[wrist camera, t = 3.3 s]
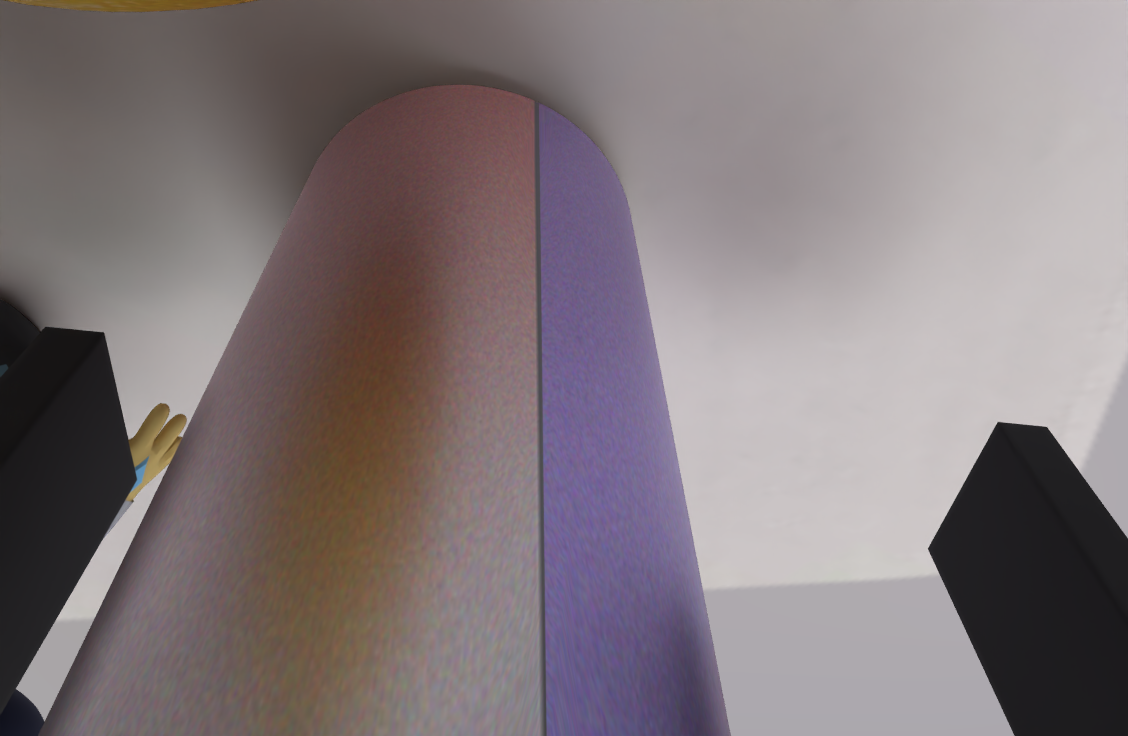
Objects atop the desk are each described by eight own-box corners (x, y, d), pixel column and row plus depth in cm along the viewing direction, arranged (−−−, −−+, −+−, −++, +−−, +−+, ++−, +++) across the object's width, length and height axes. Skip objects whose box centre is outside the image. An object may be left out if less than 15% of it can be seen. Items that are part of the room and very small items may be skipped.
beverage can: (688, 158, 15) (1229, 1718, 3) (546, 391, 18) (566, 1615, 7) (369, 6, 14) (-806, 2094, 2) (272, 292, 17) (-367, 1708, 5)
